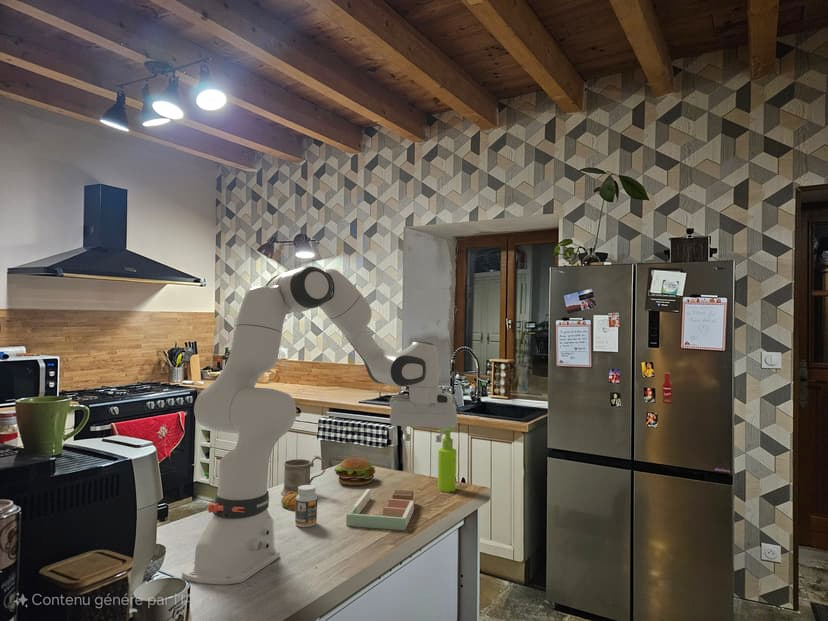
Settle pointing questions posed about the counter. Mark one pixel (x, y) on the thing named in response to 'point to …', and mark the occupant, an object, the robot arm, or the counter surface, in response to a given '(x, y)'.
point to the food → (355, 471)
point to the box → (392, 516)
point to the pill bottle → (306, 506)
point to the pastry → (289, 500)
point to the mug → (298, 474)
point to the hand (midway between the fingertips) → (423, 441)
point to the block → (403, 494)
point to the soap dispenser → (447, 464)
